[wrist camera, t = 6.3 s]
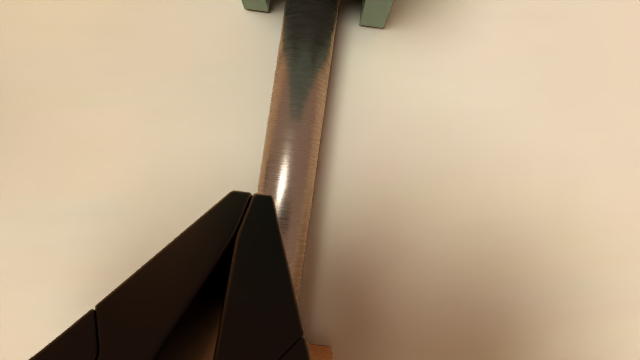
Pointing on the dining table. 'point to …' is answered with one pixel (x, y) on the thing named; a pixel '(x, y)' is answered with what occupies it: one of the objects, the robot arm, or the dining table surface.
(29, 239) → the dining table surface
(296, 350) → the robot arm
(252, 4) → the sage green notched block
